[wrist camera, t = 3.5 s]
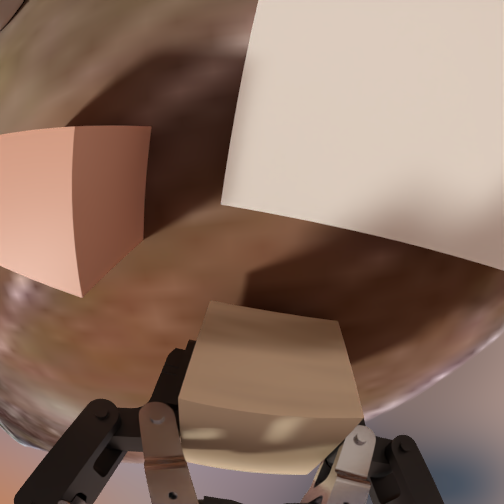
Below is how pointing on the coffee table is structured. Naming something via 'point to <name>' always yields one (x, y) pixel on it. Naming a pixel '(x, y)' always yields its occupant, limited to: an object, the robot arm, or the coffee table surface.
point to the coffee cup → (8, 10)
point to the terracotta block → (71, 202)
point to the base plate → (376, 120)
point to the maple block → (266, 392)
